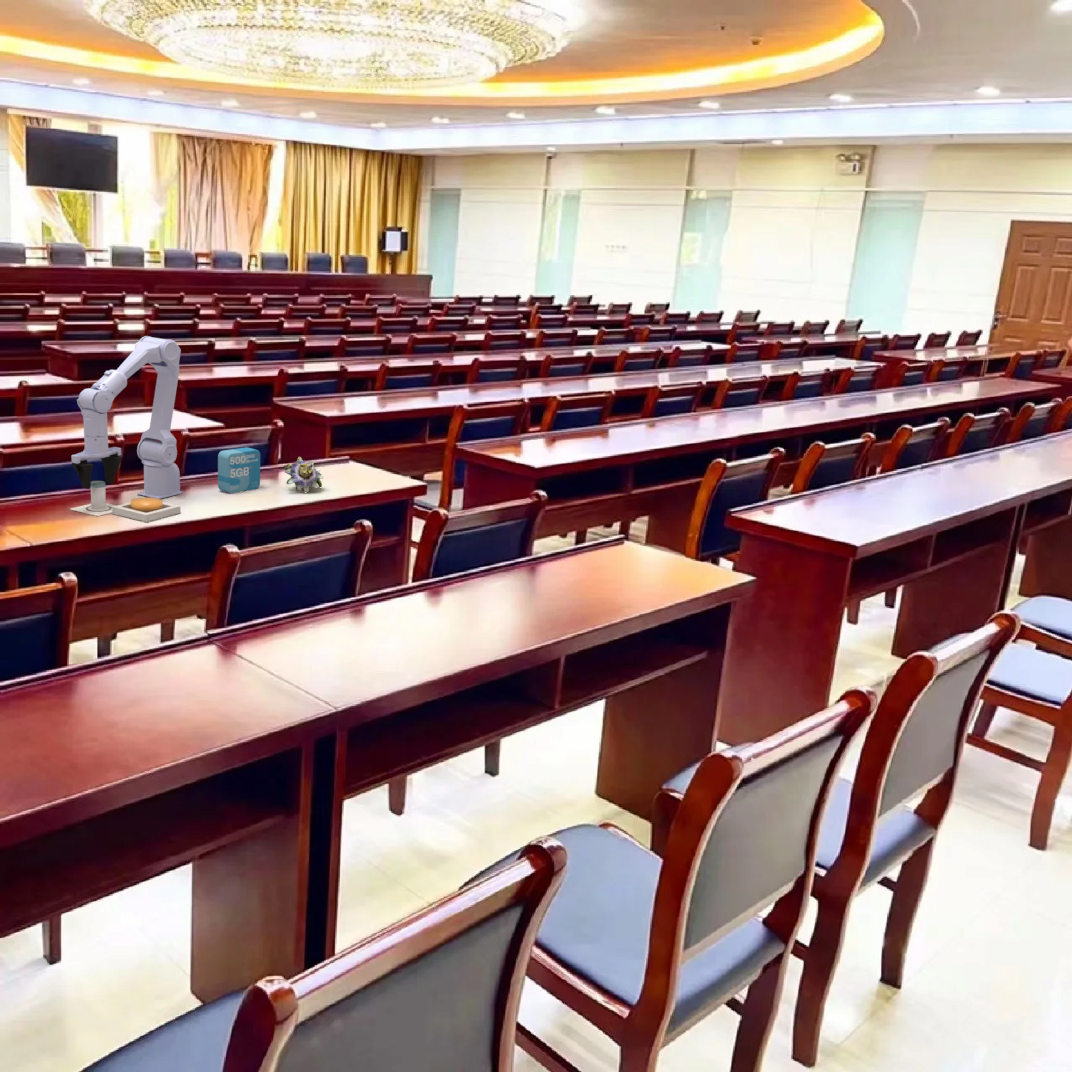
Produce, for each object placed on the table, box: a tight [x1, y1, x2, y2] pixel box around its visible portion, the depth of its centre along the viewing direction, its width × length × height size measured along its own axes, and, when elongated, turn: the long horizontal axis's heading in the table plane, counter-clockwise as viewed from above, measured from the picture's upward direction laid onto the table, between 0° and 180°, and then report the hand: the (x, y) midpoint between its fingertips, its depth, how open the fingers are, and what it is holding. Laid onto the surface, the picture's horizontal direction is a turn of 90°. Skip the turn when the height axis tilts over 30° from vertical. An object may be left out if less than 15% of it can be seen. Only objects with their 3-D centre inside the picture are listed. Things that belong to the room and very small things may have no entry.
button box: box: [111, 501, 181, 523], centre depth 276 cm, size 12×12×2 cm
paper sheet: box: [69, 502, 117, 517], centre depth 276 cm, size 10×10×1 cm
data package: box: [217, 447, 261, 494], centre depth 306 cm, size 12×4×12 cm, turn 145°
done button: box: [129, 497, 164, 511], centre depth 275 cm, size 8×8×2 cm
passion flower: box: [283, 456, 324, 493], centre depth 313 cm, size 11×11×12 cm
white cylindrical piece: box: [90, 480, 107, 510], centre depth 275 cm, size 4×4×7 cm
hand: (98, 485), depth 275 cm, fingers open, 7 cm apart
